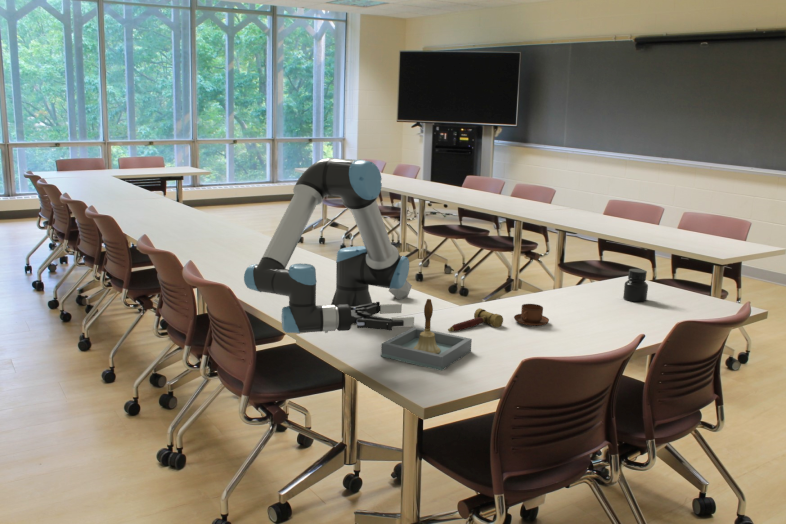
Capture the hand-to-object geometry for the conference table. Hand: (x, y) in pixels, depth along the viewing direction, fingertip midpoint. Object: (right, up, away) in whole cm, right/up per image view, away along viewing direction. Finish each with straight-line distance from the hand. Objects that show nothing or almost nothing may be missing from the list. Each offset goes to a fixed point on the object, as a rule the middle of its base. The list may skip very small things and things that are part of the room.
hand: (407, 314), depth 208 cm
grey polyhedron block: (-2, +2, +67) cm, 67 cm away
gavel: (+22, -7, +33) cm, 40 cm away
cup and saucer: (+44, -6, +39) cm, 59 cm away
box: (+6, -12, +4) cm, 14 cm away
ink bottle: (+93, 0, +75) cm, 119 cm away
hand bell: (+6, -11, +4) cm, 13 cm away
